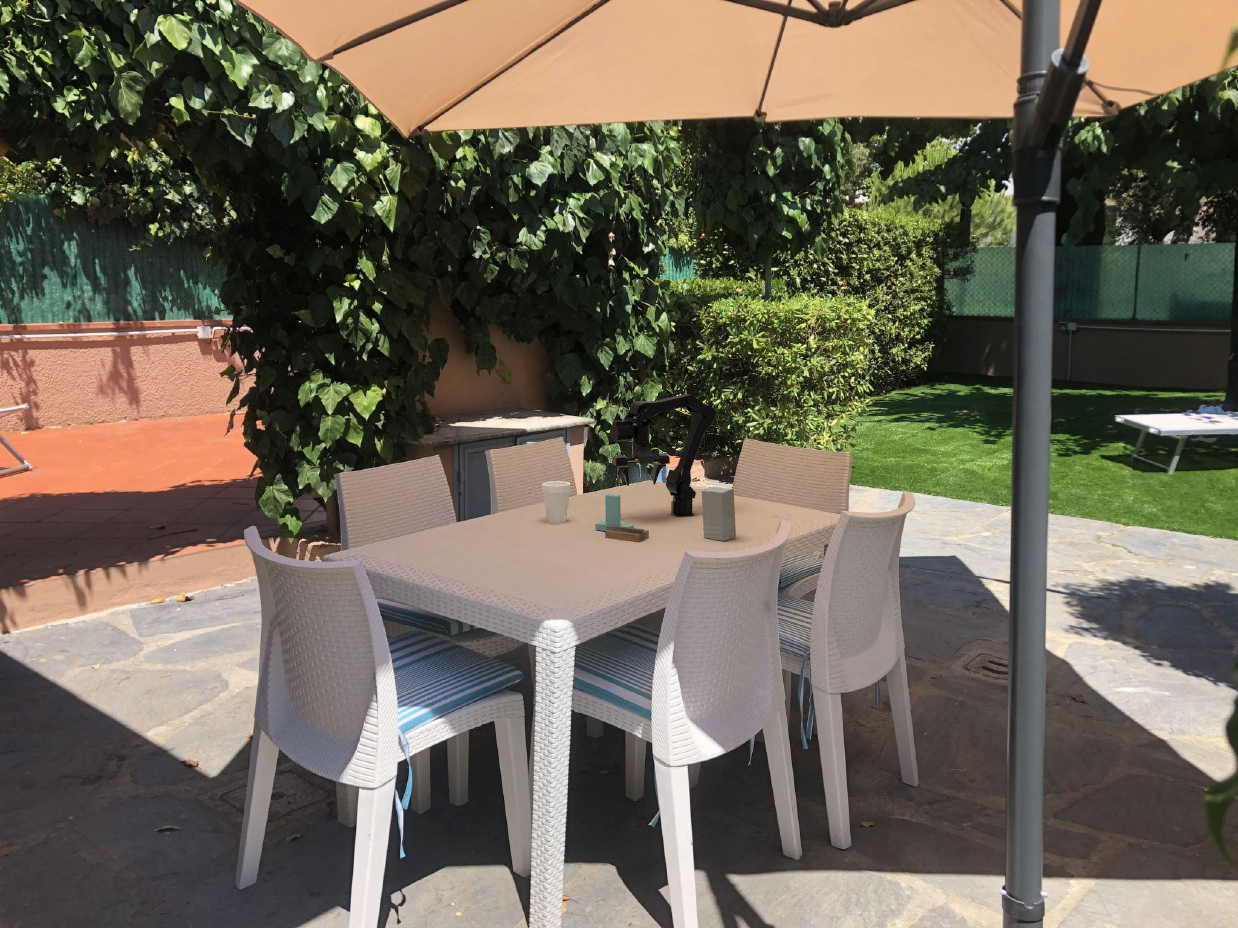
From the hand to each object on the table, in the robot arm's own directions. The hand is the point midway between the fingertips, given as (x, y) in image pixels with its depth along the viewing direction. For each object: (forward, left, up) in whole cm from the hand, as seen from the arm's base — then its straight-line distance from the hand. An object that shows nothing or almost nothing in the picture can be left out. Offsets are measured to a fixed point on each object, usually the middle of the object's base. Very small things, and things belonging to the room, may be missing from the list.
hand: (641, 485), depth 332 cm
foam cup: (+28, -6, -12) cm, 31 cm away
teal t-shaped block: (+13, +14, -12) cm, 22 cm away
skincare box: (-16, +32, -12) cm, 38 cm away
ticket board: (+11, +23, -12) cm, 28 cm away
